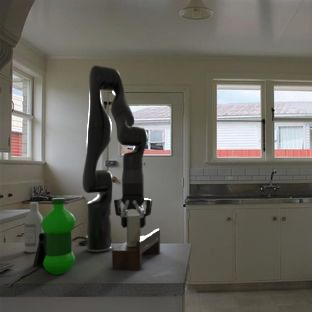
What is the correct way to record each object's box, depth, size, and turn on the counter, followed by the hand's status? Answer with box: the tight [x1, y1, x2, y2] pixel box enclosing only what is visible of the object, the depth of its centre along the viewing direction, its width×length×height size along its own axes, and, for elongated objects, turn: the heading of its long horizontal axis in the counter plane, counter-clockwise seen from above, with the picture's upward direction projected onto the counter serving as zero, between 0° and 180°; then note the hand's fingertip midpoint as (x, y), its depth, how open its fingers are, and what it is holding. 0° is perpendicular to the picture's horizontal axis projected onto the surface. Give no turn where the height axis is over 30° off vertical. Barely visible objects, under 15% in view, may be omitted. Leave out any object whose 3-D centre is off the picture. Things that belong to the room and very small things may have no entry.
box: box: [126, 213, 142, 247], centre depth 133 cm, size 5×4×11 cm
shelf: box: [111, 228, 161, 271], centre depth 137 cm, size 10×22×10 cm, turn 174°
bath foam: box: [24, 201, 44, 253], centre depth 152 cm, size 7×7×20 cm
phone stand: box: [32, 232, 46, 268], centre depth 132 cm, size 9×6×12 cm, turn 67°
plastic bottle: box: [42, 197, 76, 275], centre depth 124 cm, size 10×10×25 cm
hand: (133, 227), depth 133 cm, fingers closed on box, 6 cm apart
